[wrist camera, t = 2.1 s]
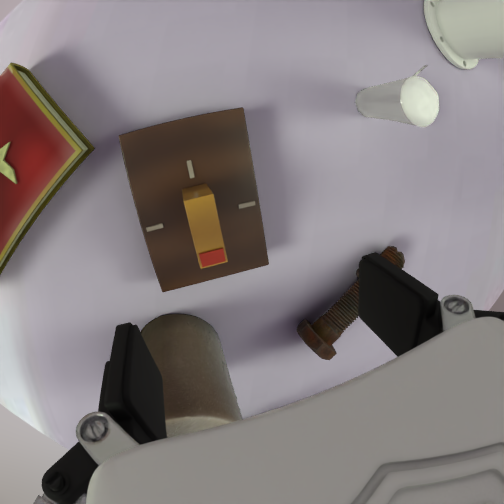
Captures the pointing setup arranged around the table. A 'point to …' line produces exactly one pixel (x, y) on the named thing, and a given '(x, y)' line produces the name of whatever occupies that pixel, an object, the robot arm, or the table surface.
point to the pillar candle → (191, 374)
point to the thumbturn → (204, 225)
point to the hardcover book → (31, 154)
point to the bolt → (339, 315)
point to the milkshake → (401, 101)
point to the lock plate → (188, 175)
